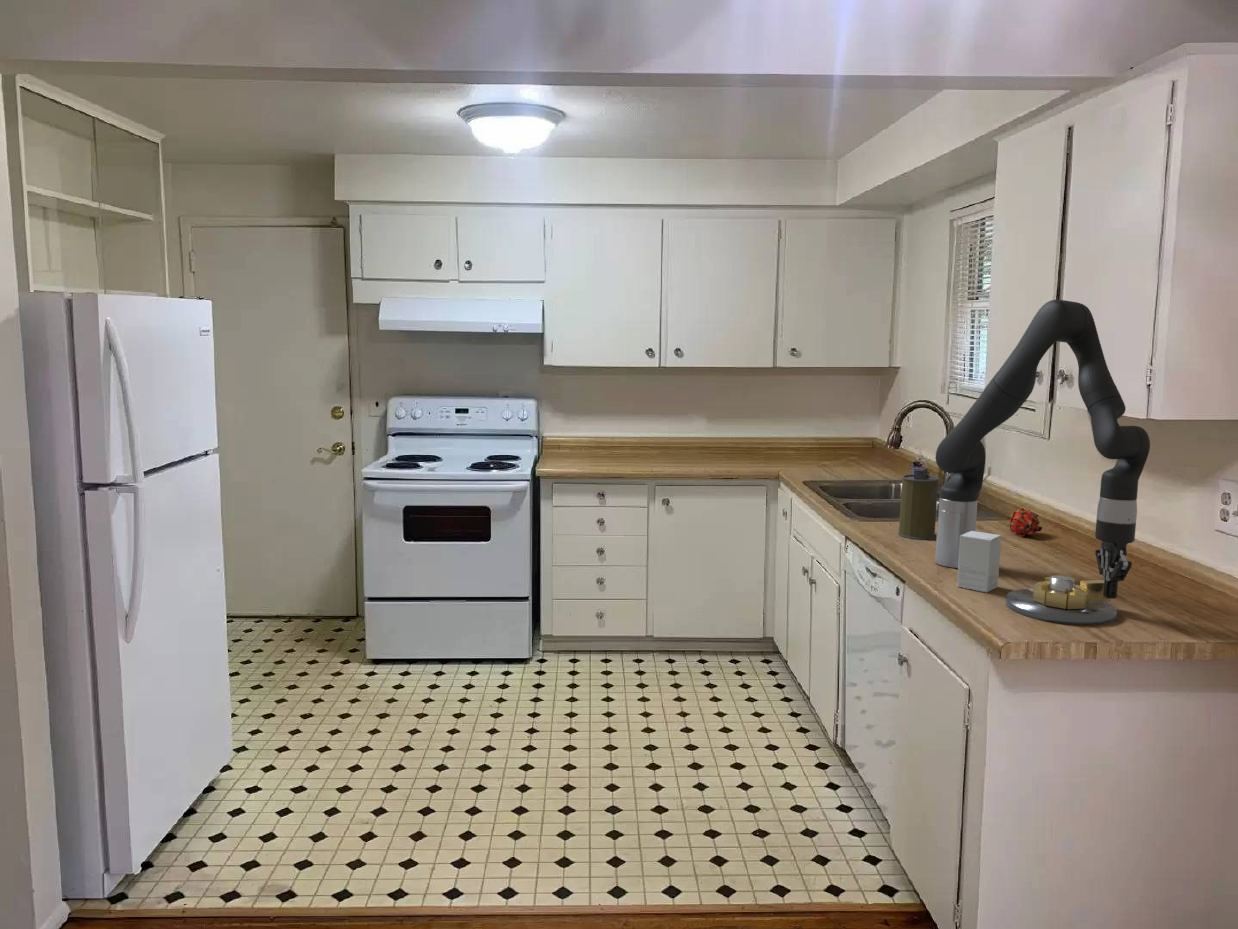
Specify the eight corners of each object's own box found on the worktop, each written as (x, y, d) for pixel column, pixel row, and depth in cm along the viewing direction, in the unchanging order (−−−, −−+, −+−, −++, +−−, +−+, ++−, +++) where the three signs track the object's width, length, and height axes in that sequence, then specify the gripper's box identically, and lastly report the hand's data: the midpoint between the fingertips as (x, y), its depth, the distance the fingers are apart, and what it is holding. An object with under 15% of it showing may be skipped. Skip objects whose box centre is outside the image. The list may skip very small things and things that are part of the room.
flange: (987, 595, 215) (989, 565, 214) (1078, 594, 217) (1081, 565, 216) (1038, 626, 193) (1041, 593, 192) (1139, 624, 195) (1142, 592, 194)
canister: (930, 541, 268) (935, 472, 265) (893, 536, 274) (898, 468, 271) (939, 534, 277) (943, 467, 274) (903, 529, 283) (907, 464, 280)
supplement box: (998, 587, 222) (1002, 535, 220) (986, 593, 216) (991, 540, 214) (967, 581, 227) (971, 529, 225) (955, 587, 221) (959, 534, 219)
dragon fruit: (1021, 535, 285) (1028, 550, 274) (998, 518, 285) (1005, 532, 274) (1041, 515, 282) (1049, 529, 271) (1019, 498, 282) (1026, 511, 271)
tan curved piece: (1053, 609, 198) (1055, 590, 198) (1024, 595, 209) (1025, 577, 208) (1123, 607, 201) (1125, 588, 201) (1090, 593, 212) (1092, 575, 211)
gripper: (1149, 525, 193) (1141, 606, 196) (1120, 513, 207) (1114, 590, 209) (1111, 524, 194) (1104, 605, 196) (1085, 512, 207) (1079, 589, 209)
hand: (1109, 597), depth 203 cm, fingers closed
